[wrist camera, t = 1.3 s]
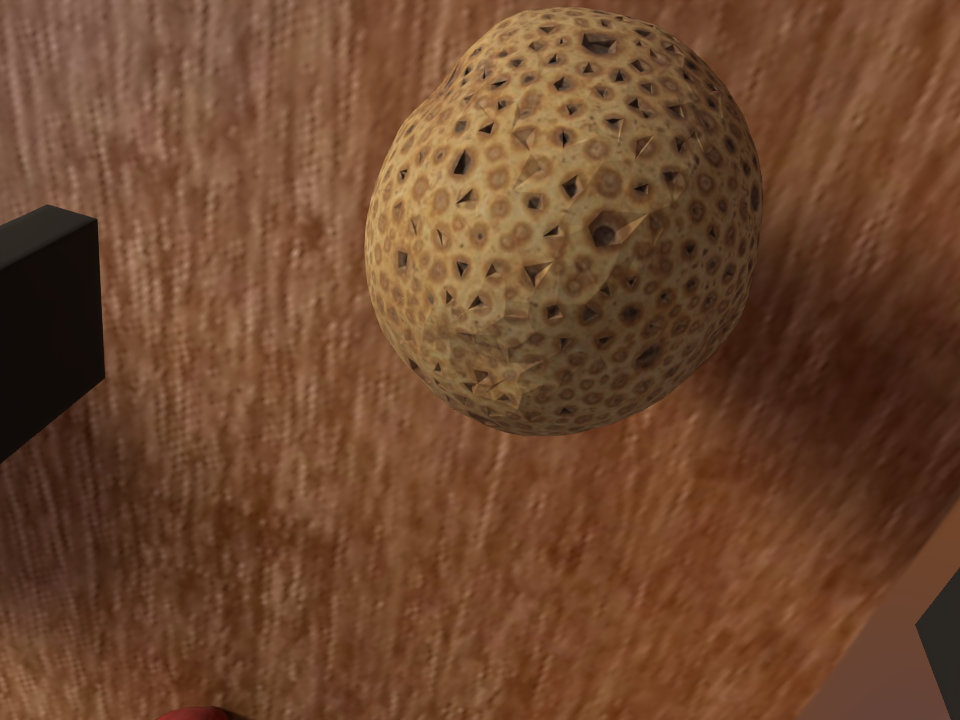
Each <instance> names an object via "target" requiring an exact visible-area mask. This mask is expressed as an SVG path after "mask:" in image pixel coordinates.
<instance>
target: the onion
mask: <svg viewBox="0 0 960 720" xmlns="http://www.w3.org/2000/svg"><path fill="white" fill-rule="evenodd" d="M156 720H229V719H228V717H227V716H226V714H225V712H224V711H223V710H222V709H220V708H218V707H215V706H208V707H191V708H182V709H178V710H174V711H170V712H169V713H167V714H165V715H163V716H161V717H160V718H158V719H156Z"/></svg>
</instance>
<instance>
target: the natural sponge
mask: <svg viewBox="0 0 960 720" xmlns="http://www.w3.org/2000/svg"><path fill="white" fill-rule="evenodd" d="M762 207H763V191H762V176H761V172H760V166H759V160H758V155H757V151H756V148H755V145H754V143H753V140H752V137H751V134H750V132H749V129H748V126H747V124H746V121H745V118H744V116H743V114H742V112H741V110H740V109H739V107H738V106H737V104H736V102H735V101H734V99H733V97H732V96H731V94H730V92H729V91H728V89H727V88H726V86H725V85H724V84H723V83H722V82H721V81H720V79H719V78H718V77H717V76H716V75H715V74H714V72H713V71H712V70H711V69H710V68H709V66H708V65H707V64H706V63H705V62H704V61H703V60H702V59H700V58H699V57H698V56H697V55H696V54H695V53H694V52H693V51H692V50H691V49H690V48H688V47H687V46H686V45H684V44H683V43H682V42H681V41H679V40H678V39H676V38H675V37H673V36H672V35H670V34H669V33H667V32H666V31H665V30H663V29H662V28H660V27H659V26H658V25H655V24H651V23H648V22H644V21H641V20H638V19H634V18H631V17H627V16H623V15H619V14H615V13H611V12H606V11H601V10H596V9H588V8H548V9H534V10H528V11H523V12H520V13H516V14H514V15H512V16H510V17H508V18H507V19H505V20H503V21H501V22H500V23H498V24H496V25H495V26H494V27H493V28H492V29H491V30H489V31H488V32H487V33H486V34H485V35H484V36H483V37H482V38H481V39H479V40H478V41H477V42H476V43H475V44H474V45H473V46H472V47H471V48H469V49H468V50H467V51H466V53H465V54H464V55H463V56H462V58H461V59H460V60H459V62H458V63H457V64H456V65H455V67H454V68H453V69H452V71H451V72H450V73H449V75H448V76H447V77H446V79H445V80H444V81H443V82H442V83H441V85H440V86H439V87H438V88H437V89H436V90H435V91H434V92H433V93H432V94H431V96H430V97H429V98H428V99H427V100H425V101H424V102H423V103H422V104H421V105H420V106H419V107H418V108H417V109H415V110H414V111H413V112H412V113H411V114H410V116H409V117H408V118H407V119H406V121H405V122H404V123H403V125H402V126H401V128H400V129H399V131H398V133H397V135H396V137H395V139H394V142H393V144H392V146H391V147H390V150H389V152H388V154H387V156H386V158H385V161H384V163H383V165H382V168H381V170H380V173H379V176H378V179H377V182H376V185H375V188H374V191H373V194H372V199H371V203H370V207H369V211H368V216H367V223H366V229H365V248H364V249H365V265H366V275H367V283H368V289H369V294H370V298H371V301H372V304H373V307H374V310H375V313H376V316H377V319H378V322H379V324H380V326H381V329H382V331H383V333H384V335H385V336H386V338H387V339H388V341H389V342H390V343H391V345H392V346H393V348H394V349H395V351H396V352H397V353H398V355H399V356H400V357H401V359H402V360H403V361H404V363H405V364H406V365H407V366H408V367H409V368H410V369H411V370H412V371H413V372H414V373H415V374H416V375H417V376H418V378H419V379H420V380H421V381H422V382H423V383H424V384H425V385H426V386H427V387H428V388H429V389H430V390H431V392H433V393H434V394H435V395H436V396H438V397H439V398H440V399H442V400H443V401H444V402H445V403H447V404H448V405H449V406H450V407H452V408H453V409H454V410H456V411H458V412H460V413H462V414H464V415H466V416H468V417H470V418H472V419H474V420H476V421H478V422H480V423H482V424H484V425H487V426H489V427H492V428H494V429H496V430H500V431H503V432H507V433H511V434H516V435H522V436H559V435H569V434H575V433H580V432H583V431H587V430H590V429H593V428H597V427H601V426H605V425H609V424H613V423H616V422H618V421H620V420H622V419H625V418H627V417H629V416H631V415H633V414H636V413H638V412H640V411H642V410H644V409H646V408H648V407H649V406H651V405H653V404H655V403H656V402H658V401H660V400H661V399H663V398H664V397H666V396H667V395H668V394H669V393H671V392H672V391H673V390H674V389H675V388H676V387H677V386H678V385H680V384H681V383H682V382H683V381H684V380H685V379H687V378H688V377H689V376H690V375H691V374H692V373H693V372H694V371H695V370H696V369H697V368H698V367H699V366H701V365H702V364H703V363H704V362H705V361H706V360H707V359H708V358H709V357H710V356H711V355H712V354H713V353H714V352H715V351H716V350H717V349H718V348H719V347H720V346H721V345H722V344H723V342H724V341H725V340H726V339H727V338H728V336H729V335H730V333H731V332H732V330H733V329H734V328H735V327H736V325H737V324H738V322H739V319H740V317H741V315H742V313H743V311H744V308H745V306H746V303H747V300H748V296H749V293H750V290H751V284H752V279H753V275H754V271H755V266H756V261H757V256H758V246H759V237H760V229H761V222H762Z"/></svg>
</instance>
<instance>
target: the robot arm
mask: <svg viewBox="0 0 960 720" xmlns="http://www.w3.org/2000/svg"><path fill="white" fill-rule="evenodd" d="M104 378H105V366H104V346H103V325H102V305H101V284H100V264H99V243H98V223H97V219H96V218H92V217H89V216H85V215H82V214H78V213H75V212H72V211H68V210H65V209H61V208H58V207H55V206H51V205H48V204H47V205H45V206H43V207H41V208H38V209H36V210H34V211H32V212H30V213H27V214H25V215H23V216H21V217H19V218H16V219H14V220H12V221H10V222H8V223H5V224H3V225H1V226H0V464H1V463H2V462H3V461H4V460H6V459H7V458H8V457H9V456H11V455H12V454H13V453H14V452H15V451H17V450H18V449H19V448H20V447H21V446H23V445H24V444H25V443H26V442H28V441H29V440H30V439H31V438H32V437H34V436H35V435H36V434H37V433H39V432H40V431H41V430H42V429H43V428H45V427H46V426H47V425H48V424H50V423H51V422H52V421H53V420H54V419H56V418H57V417H58V416H59V415H60V414H62V413H63V412H64V411H65V410H67V409H68V408H69V407H70V406H71V405H73V404H74V403H75V402H76V401H78V400H79V399H80V398H81V397H82V396H84V395H85V394H86V393H87V392H89V391H90V390H91V389H92V388H93V387H95V386H96V385H97V384H98V383H99V382H101V381H102V380H103V379H104ZM915 626H916V628H917V631H918V633H919V636H920V639H921V641H922V644H923V647H924V649H925V652H926V655H927V657H928V660H929V663H930V665H931V668H932V671H933V673H934V676H935V679H936V681H937V684H938V686H939V689H940V692H941V694H942V697H943V700H944V702H945V705H946V708H947V710H948V713H949V716H950V718H951V720H960V568H959V569H958V571H957V572H956V573H955V574H954V576H953V577H952V578H951V579H950V581H949V582H948V583H947V585H946V586H945V587H944V589H943V590H942V591H941V592H940V594H939V595H938V596H937V597H936V599H935V600H934V601H933V603H932V604H931V605H930V606H929V608H928V609H927V611H925V613H924V614H923V615H922V617H921V618H920V619H919V620H918V622H917V623H916V624H915Z"/></svg>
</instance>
